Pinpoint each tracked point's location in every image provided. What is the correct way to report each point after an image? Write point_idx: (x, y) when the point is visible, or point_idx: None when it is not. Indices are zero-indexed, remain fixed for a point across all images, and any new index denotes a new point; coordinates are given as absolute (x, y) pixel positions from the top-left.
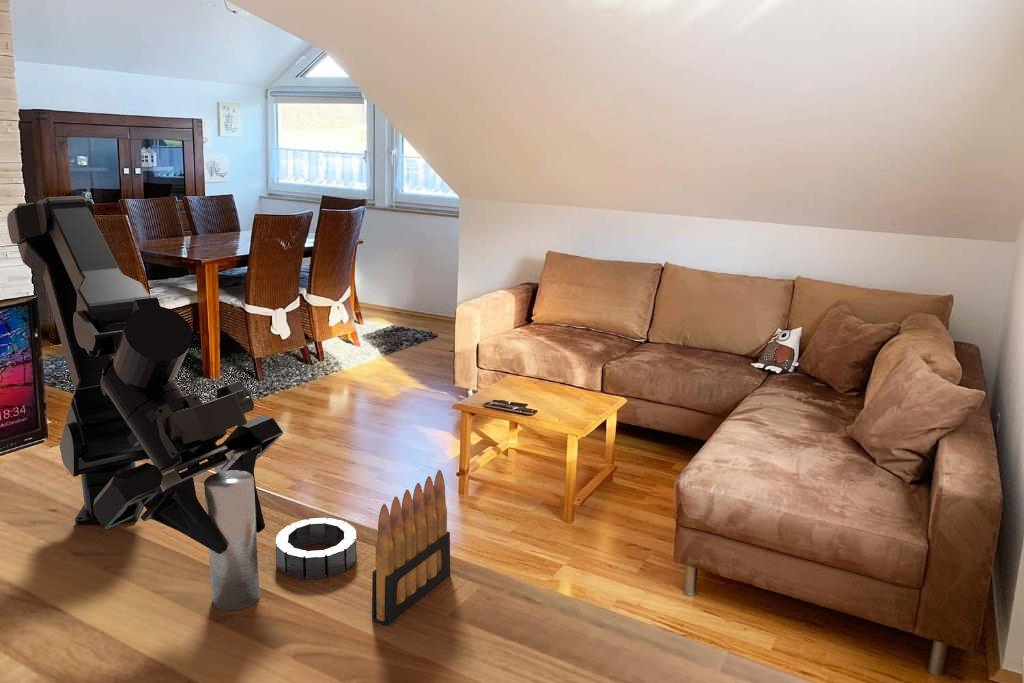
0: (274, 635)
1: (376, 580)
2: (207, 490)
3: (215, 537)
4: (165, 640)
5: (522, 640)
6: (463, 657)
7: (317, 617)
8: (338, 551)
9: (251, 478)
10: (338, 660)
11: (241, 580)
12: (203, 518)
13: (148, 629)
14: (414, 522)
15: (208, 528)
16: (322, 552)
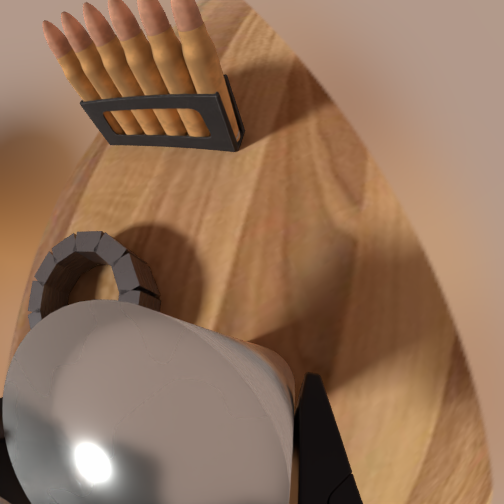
0: (328, 257)
1: (222, 100)
2: None
3: (326, 407)
4: (402, 416)
5: (225, 41)
6: (270, 60)
7: (257, 220)
8: (111, 238)
9: (47, 329)
10: (337, 149)
11: (275, 354)
12: (329, 476)
13: (384, 460)
14: (123, 49)
15: (335, 439)
16: (118, 263)
